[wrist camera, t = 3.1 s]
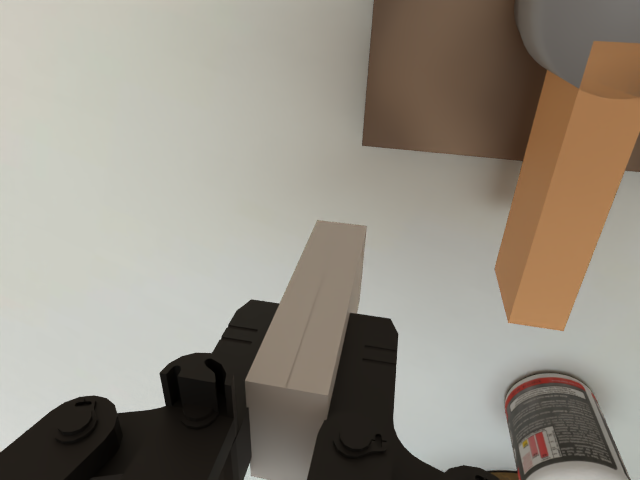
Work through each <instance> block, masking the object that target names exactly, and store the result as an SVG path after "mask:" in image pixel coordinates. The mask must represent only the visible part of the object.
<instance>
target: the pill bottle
mask: <svg viewBox="0 0 640 480" xmlns="http://www.w3.org/2000/svg"><path fill="white" fill-rule="evenodd" d="M505 413H506V418H507V423H508V427H509V433H510V437H511V442H512V447H513V452H514V458H515V463H516V467H517V472H518V478H519V480H631V479H630V477H629V475H628V472H627V470H626V468H625V465H624V463H623V461H622V458H621V456H620V454H619V451H618V449H617V446H616V444H615V442H614V440H613V437H612V435H611V432H610V430H609V428H608V426H607V423H606V420H605V418H604V416H603V414H602V412H601V409H600V407H599V405H598V402H597V400H596V398H595V396H594V395H593V393H592V392H591V390H590V389H589V388H588V387H587V386H586V385H585V384H583V383H582V382H580V381H578V380H577V379H575V378H572V377H569V376H566V375H562V374H554V373H545V374H537V375H533V376H530V377H527V378H525V379H523V380H521V381H519V382H518V383H516V384H515V385H514V386H513V387H512V388H511V389H510V391H509V392H508V394H507V396H506V399H505Z"/></svg>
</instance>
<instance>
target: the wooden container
mask: <svg viewBox="0 0 640 480" xmlns="http://www.w3.org/2000/svg"><path fill="white" fill-rule="evenodd" d="M489 473H491V474H493V475H495V476H496V477H498V478H499V479H500V480H519V478H518V473H512V472H489Z"/></svg>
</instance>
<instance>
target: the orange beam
mask: <svg viewBox="0 0 640 480" xmlns="http://www.w3.org/2000/svg"><path fill="white" fill-rule="evenodd" d="M518 23H519V30H520V35H521V38H522V41H523V43H524V46H525V47H526V49H527V51H528V53H529V54H530V55H531V56H532V58H533V59H534V60H535V61H536V62H537V63H538V64H539V65H541V66H542V67H544V68H545V69H547V72H546V76H545V80H544V84H543V88H542V91H541V95H540V99H539V103H538V106H537V110H536V114H535V118H534V122H533V125H532V129H531V133H530V137H529V140H528V144H527V148H526V152H525V156H524V159H523V163H522V167H521V171H520V174H519V178H518V182H517V186H516V190H515V193H514V197H513V201H512V205H511V209H510V212H509V216H508V220H507V224H506V227H505V231H504V235H503V239H502V243H501V246H500V250H499V254H498V258H497V261H496V265H495V272H496V276H497V280H498V284H499V288H500V292H501V296H502V300H503V304H504V308H505V312H506V316H507V320H508V323H514V324H520V325H527V326H534V327H540V328H547V329H554V330H560V331H564V328H565V326H566V323H567V320H568V318H569V315H570V313H571V310H572V307H573V305H574V302H575V299H576V297H577V294H578V292H579V289H580V286H581V284H582V281H583V279H584V276H585V273H586V271H587V268H588V266H589V263H590V260H591V258H592V255H593V252H594V250H595V247H596V245H597V242H598V239H599V237H600V234H601V232H602V229H603V226H604V224H605V221H606V219H607V216H608V213H609V211H610V208H611V205H612V203H613V200H614V198H615V195H616V192H617V190H618V187H619V185H620V182H621V179H622V177H623V174H624V172H625V169H626V166H627V164H628V161H629V158H630V156H631V153H632V151H633V148H634V145H635V143H636V140H637V138H638V135H639V132H640V0H520V1H519V8H518Z"/></svg>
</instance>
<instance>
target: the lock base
mask: <svg viewBox="0 0 640 480" xmlns="http://www.w3.org/2000/svg"><path fill="white" fill-rule="evenodd" d="M519 1H520V0H374V6H373V18H372V30H371V43H370V55H369V67H368V79H367V91H366V103H365V116H364V128H363V140H362V146H372V147H382V148H393V149H403V150H414V151H424V152H435V153H446V154H456V155H467V156H477V157H488V158H498V159H509V160H519V161H523V159H524V156H525V152H526V148H527V144H528V140H529V137H530V133H531V129H532V125H533V122H534V118H535V114H536V110H537V106H538V103H539V99H540V95H541V91H542V88H543V84H544V80H545V76H546V72H547V69H545V68H544V67H542V66H541V65H539V64H538V63H537V62H536V61H535V60H534V59H533V58H532V56H531V55H530V54H529V53H528V51H527V49H526V47H525V46H524V43H523V41H522V38H521V35H520V30H519V23H518V8H519ZM625 171H635V172H640V132H639V135H638V138H637V140H636V143H635V145H634V148H633V151H632V153H631V156H630V158H629V161H628V164H627V166H626V169H625Z"/></svg>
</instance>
